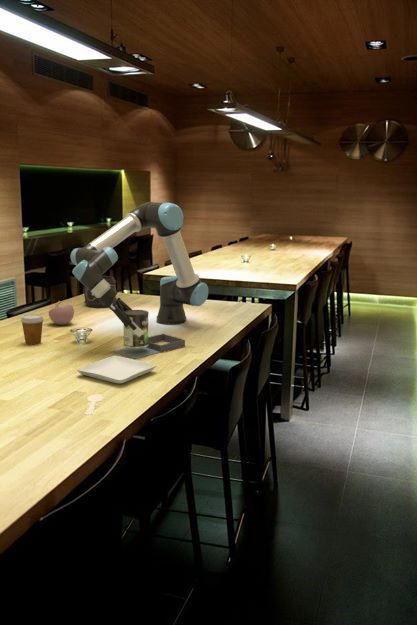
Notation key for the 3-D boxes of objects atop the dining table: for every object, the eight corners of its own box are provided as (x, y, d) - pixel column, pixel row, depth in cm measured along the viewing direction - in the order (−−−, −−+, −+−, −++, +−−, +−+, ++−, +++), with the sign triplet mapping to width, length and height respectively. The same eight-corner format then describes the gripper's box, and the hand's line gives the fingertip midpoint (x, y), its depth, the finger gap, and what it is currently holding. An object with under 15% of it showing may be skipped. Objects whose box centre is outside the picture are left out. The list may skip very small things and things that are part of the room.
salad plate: (120, 388, 206) (120, 379, 206) (75, 377, 217) (75, 368, 217) (158, 373, 224) (158, 364, 223) (114, 363, 235) (114, 354, 234)
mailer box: (163, 340, 269) (163, 333, 268) (184, 346, 259) (185, 339, 259) (112, 351, 249) (112, 344, 249) (133, 359, 240) (133, 351, 239)
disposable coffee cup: (49, 342, 262) (48, 315, 260) (36, 347, 253) (34, 319, 251) (30, 339, 265) (29, 313, 263) (17, 345, 256) (15, 317, 254)
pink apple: (66, 320, 302) (65, 298, 300) (79, 325, 294) (78, 302, 292) (44, 324, 294) (43, 301, 292) (57, 328, 286) (56, 305, 283)
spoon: (79, 415, 182) (79, 414, 182) (89, 395, 200) (89, 393, 199) (97, 416, 182) (97, 414, 182) (105, 395, 200) (105, 393, 200)
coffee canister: (114, 308, 332) (113, 280, 329) (81, 308, 332) (81, 280, 329) (119, 302, 350) (119, 275, 346) (88, 301, 350) (88, 275, 347)
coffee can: (151, 343, 252) (151, 310, 250) (144, 349, 243) (144, 315, 240) (128, 341, 254) (127, 308, 252) (119, 347, 245) (119, 313, 242)
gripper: (103, 294, 256) (140, 331, 259) (92, 304, 234) (132, 344, 237) (115, 282, 255) (152, 319, 258) (105, 291, 233) (146, 332, 236)
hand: (143, 331), depth 247 cm, fingers closed on coffee can, 10 cm apart
